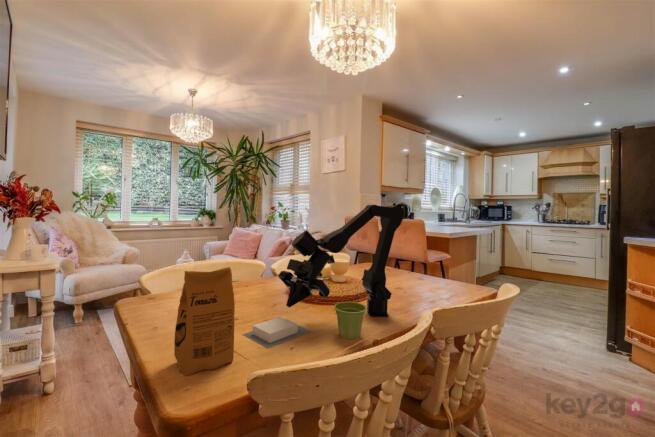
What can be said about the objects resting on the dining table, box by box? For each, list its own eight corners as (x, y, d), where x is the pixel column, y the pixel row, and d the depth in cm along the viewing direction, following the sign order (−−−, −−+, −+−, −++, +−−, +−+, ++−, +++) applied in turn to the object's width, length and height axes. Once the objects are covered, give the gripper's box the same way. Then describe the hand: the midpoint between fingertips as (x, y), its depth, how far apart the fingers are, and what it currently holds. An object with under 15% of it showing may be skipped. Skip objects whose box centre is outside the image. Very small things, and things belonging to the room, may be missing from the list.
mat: (285, 321, 98) (285, 320, 98) (311, 332, 90) (311, 331, 90) (242, 335, 86) (242, 334, 86) (267, 349, 78) (267, 348, 78)
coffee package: (171, 360, 71) (173, 267, 70) (225, 347, 78) (226, 263, 78) (178, 380, 63) (180, 276, 62) (237, 364, 70) (239, 270, 69)
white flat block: (280, 316, 93) (252, 325, 86) (297, 323, 88) (270, 333, 81) (280, 325, 93) (252, 334, 86) (297, 332, 88) (269, 343, 81)
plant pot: (356, 346, 82) (357, 314, 81) (327, 337, 87) (328, 307, 86) (370, 334, 89) (371, 305, 89) (343, 327, 94) (343, 299, 94)
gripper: (283, 246, 100) (254, 284, 92) (324, 253, 88) (295, 298, 80) (299, 267, 106) (273, 304, 98) (340, 276, 94) (314, 320, 86)
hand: (287, 306), depth 90 cm, fingers closed
